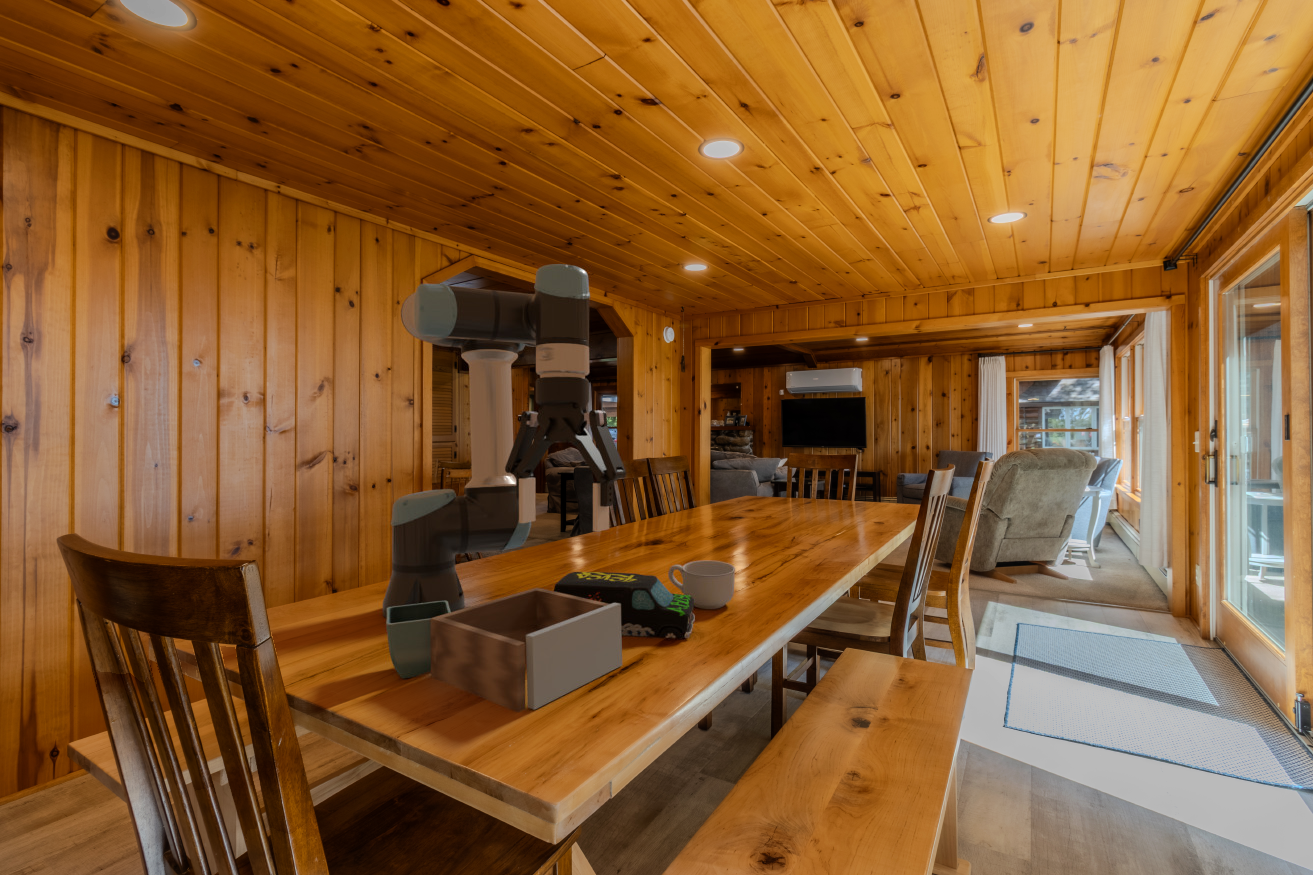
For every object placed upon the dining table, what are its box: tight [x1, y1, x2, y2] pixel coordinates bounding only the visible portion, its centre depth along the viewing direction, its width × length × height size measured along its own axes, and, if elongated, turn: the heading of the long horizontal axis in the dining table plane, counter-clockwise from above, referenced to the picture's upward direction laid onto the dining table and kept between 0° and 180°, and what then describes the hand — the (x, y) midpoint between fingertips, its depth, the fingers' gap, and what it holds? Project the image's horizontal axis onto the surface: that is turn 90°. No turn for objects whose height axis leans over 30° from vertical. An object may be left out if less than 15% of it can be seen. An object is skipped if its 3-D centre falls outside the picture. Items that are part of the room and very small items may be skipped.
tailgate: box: [525, 603, 623, 710], centre depth 82 cm, size 1×17×9 cm, turn 144°
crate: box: [430, 587, 609, 713], centre depth 88 cm, size 18×20×10 cm
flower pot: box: [385, 601, 451, 679], centre depth 90 cm, size 9×9×9 cm
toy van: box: [553, 571, 695, 640], centre depth 107 cm, size 11×25×10 cm, turn 81°
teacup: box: [667, 559, 736, 610], centre depth 125 cm, size 14×11×8 cm
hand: (562, 526), depth 87 cm, fingers open, 13 cm apart
